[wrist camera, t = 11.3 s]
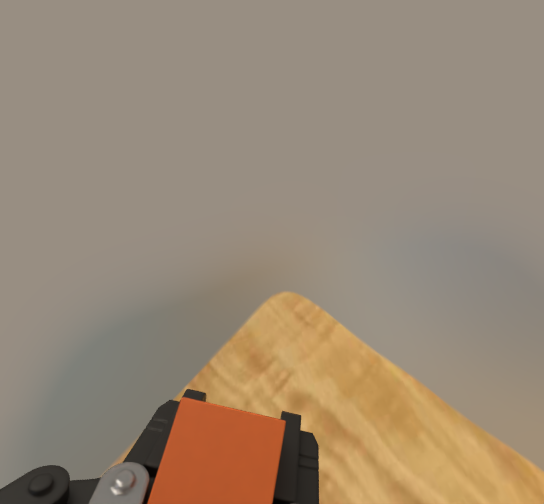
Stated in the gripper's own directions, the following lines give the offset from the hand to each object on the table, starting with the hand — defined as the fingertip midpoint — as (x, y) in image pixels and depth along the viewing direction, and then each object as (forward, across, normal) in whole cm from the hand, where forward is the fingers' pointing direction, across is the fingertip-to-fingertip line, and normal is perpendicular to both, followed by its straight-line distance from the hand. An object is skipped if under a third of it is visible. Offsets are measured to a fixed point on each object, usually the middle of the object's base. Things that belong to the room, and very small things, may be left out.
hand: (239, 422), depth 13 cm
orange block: (+2, 0, +5) cm, 5 cm away
